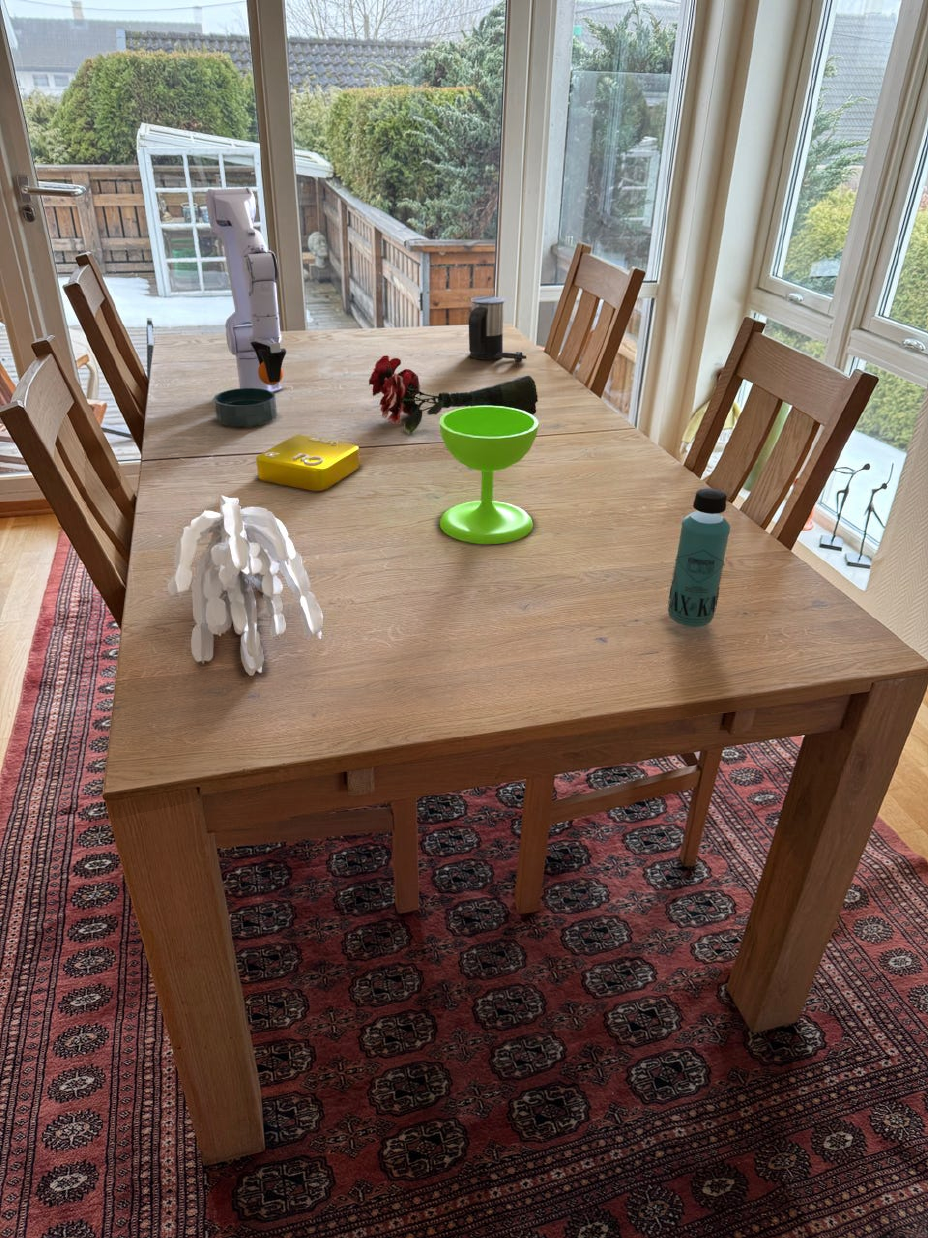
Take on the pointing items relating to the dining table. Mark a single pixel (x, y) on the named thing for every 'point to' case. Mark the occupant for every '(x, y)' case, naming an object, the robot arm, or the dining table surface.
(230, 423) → the bowl
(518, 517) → the wineglass
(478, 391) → the carnation
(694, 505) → the beverage bottle
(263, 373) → the mandarin
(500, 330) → the milk frother
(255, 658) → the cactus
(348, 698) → the dining table surface
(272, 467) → the element tile
